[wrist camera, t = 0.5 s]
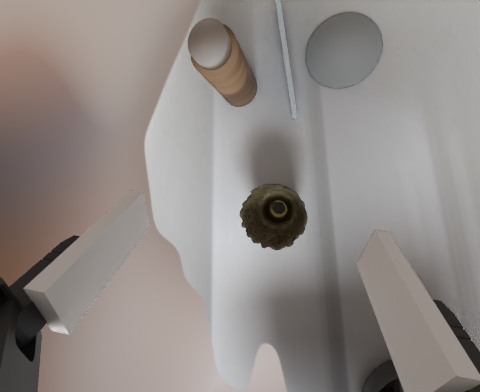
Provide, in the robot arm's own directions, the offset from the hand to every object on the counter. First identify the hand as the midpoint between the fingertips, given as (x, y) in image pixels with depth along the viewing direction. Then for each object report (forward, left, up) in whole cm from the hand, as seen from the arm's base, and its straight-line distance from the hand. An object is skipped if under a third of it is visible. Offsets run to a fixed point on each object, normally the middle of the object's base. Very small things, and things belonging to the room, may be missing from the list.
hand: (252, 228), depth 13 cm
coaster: (+18, -10, -20) cm, 29 cm away
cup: (-1, +1, -20) cm, 20 cm away
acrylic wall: (+18, -3, -20) cm, 27 cm away
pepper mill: (+17, +4, -20) cm, 26 cm away
